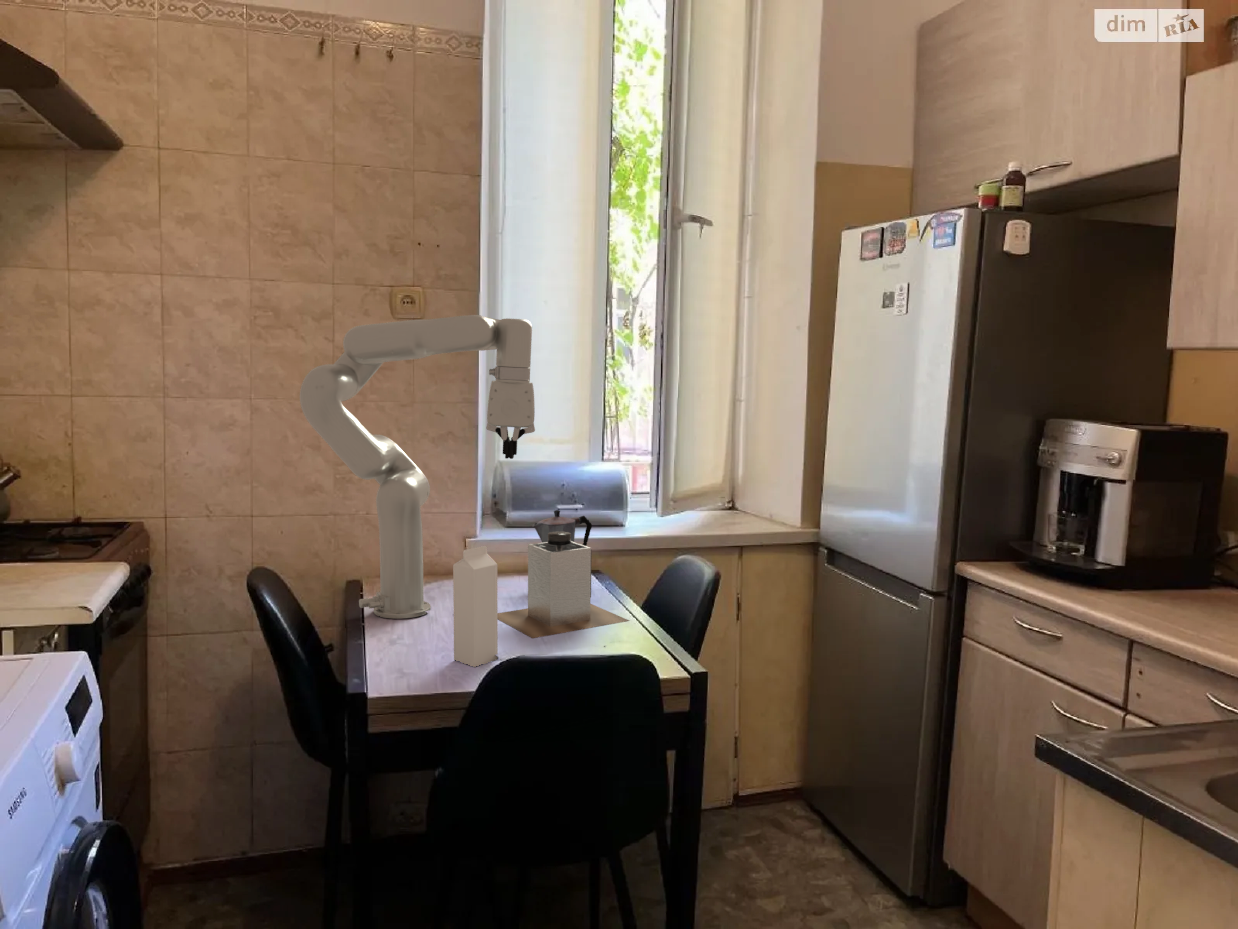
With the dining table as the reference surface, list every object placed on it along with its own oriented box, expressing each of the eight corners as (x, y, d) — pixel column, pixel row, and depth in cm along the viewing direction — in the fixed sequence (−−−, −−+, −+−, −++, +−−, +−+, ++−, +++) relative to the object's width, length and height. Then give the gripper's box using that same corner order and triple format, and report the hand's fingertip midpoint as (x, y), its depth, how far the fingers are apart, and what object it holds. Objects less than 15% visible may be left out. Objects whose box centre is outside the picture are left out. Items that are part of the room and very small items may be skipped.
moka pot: (526, 586, 233) (526, 508, 230) (582, 580, 239) (583, 505, 237) (539, 595, 224) (539, 514, 222) (597, 589, 231) (598, 511, 228)
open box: (550, 626, 194) (550, 552, 192) (527, 615, 203) (528, 544, 201) (601, 617, 202) (602, 546, 200) (578, 607, 210) (578, 538, 208)
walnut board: (532, 644, 187) (532, 638, 186) (489, 619, 203) (489, 614, 203) (629, 626, 200) (629, 620, 200) (581, 604, 216) (581, 599, 216)
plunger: (552, 597, 195) (552, 538, 194) (534, 589, 202) (534, 532, 200) (584, 592, 199) (584, 535, 198) (565, 585, 206) (565, 529, 205)
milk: (497, 660, 177) (498, 547, 174) (474, 668, 172) (474, 552, 169) (476, 653, 181) (477, 543, 178) (452, 660, 176) (452, 547, 173)
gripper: (476, 373, 198) (473, 458, 200) (545, 377, 198) (541, 461, 200) (481, 373, 206) (478, 454, 208) (548, 376, 206) (544, 457, 208)
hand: (509, 457), depth 204 cm, fingers closed
